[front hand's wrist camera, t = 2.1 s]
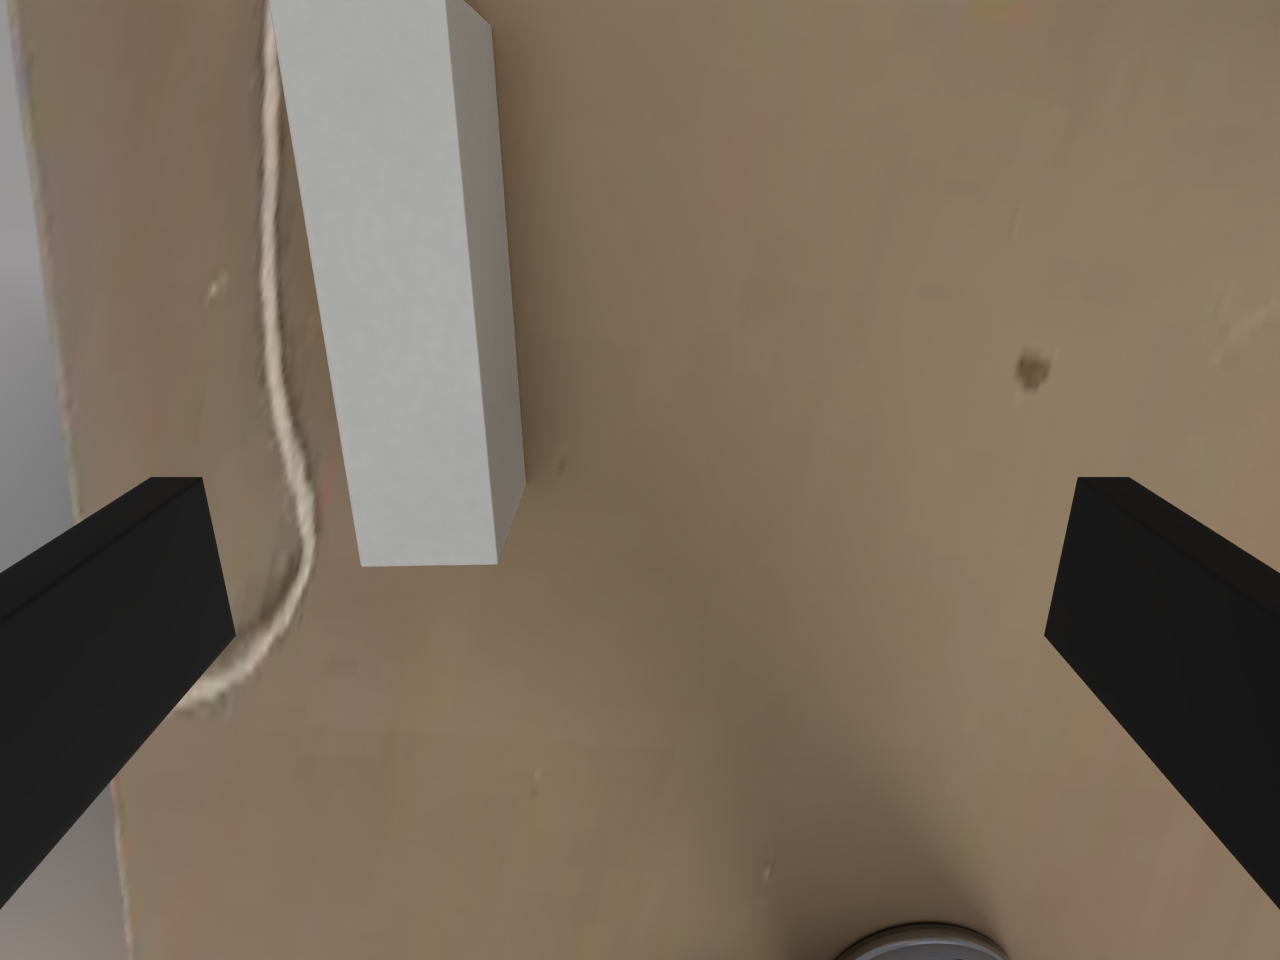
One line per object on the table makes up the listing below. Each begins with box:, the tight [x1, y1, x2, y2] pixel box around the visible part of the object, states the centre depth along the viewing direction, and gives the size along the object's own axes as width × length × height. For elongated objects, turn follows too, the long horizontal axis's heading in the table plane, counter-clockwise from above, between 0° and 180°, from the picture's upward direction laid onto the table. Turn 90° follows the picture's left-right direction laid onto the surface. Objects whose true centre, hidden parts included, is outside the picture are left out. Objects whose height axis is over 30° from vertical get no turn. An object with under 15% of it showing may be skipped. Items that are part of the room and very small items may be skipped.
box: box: [269, 0, 526, 567], centre depth 38 cm, size 24×6×10 cm, turn 1°
